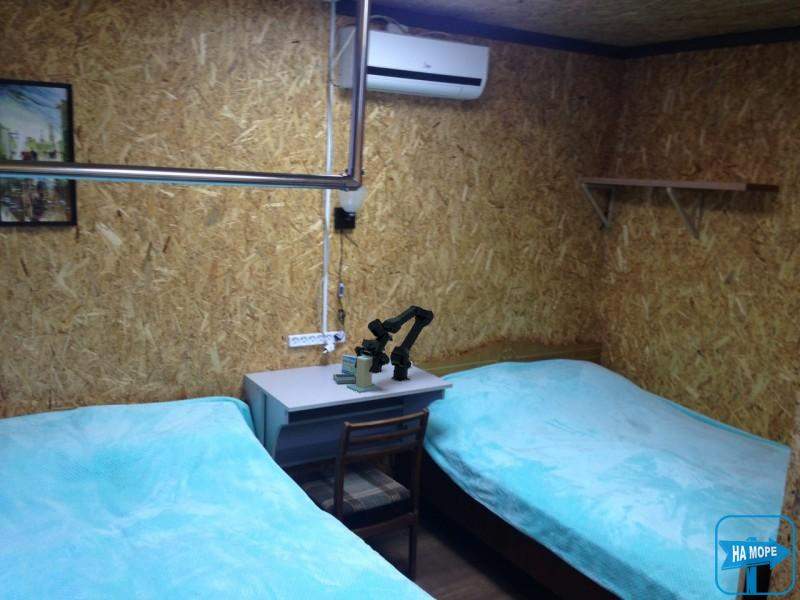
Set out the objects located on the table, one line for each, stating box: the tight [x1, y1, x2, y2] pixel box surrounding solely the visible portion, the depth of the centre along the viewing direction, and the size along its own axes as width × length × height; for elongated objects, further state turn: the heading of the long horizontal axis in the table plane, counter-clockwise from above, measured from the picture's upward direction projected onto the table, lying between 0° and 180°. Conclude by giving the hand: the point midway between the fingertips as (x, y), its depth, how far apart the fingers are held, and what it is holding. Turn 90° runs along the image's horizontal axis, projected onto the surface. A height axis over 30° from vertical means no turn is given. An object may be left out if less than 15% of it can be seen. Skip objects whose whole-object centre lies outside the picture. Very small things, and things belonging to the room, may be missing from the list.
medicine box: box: [341, 354, 357, 374], centre depth 337 cm, size 8×4×9 cm, turn 62°
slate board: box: [346, 383, 382, 394], centre depth 313 cm, size 12×10×1 cm
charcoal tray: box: [332, 373, 356, 385], centre depth 323 cm, size 11×11×2 cm
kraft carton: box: [356, 355, 373, 388], centre depth 311 cm, size 5×5×14 cm
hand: (362, 369), depth 310 cm, fingers open, 9 cm apart
